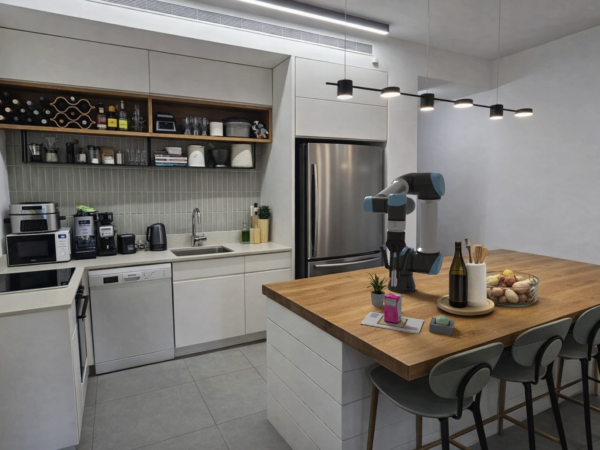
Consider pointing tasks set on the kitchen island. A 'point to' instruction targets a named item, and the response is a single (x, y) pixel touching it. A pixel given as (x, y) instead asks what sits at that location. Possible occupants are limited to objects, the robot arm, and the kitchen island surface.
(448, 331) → the soap dish
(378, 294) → the house plant
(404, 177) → the robot arm
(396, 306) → the supplement box
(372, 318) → the picture sheet
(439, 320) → the button
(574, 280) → the kitchen island surface
